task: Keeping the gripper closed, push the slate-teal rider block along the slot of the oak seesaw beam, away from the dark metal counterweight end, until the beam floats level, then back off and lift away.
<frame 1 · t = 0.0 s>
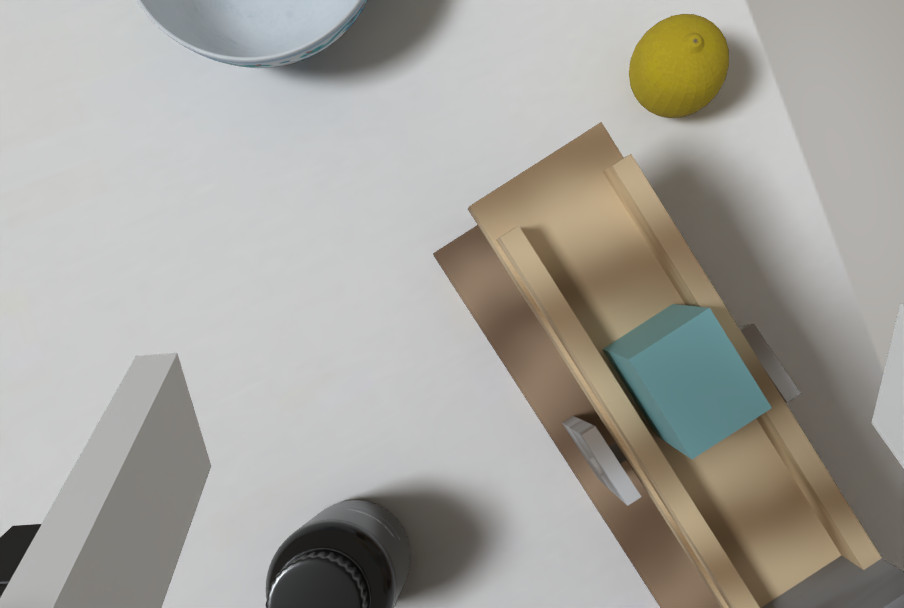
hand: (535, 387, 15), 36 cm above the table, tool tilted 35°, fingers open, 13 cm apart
supplement bottle: (356, 552, 51), on the table
rider: (664, 370, 39), point 12 cm above the table, tilted 8°, touching beam
lemon: (662, 92, 52), on the table
beam: (708, 426, 38), point 13 cm above the table, hinge at -8.0°, touching rider
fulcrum: (645, 405, 51), on the table
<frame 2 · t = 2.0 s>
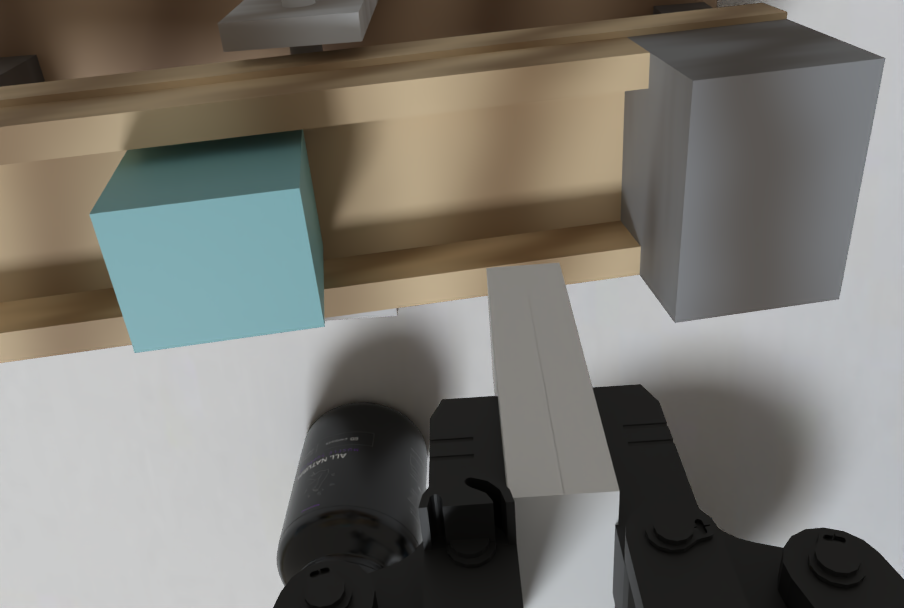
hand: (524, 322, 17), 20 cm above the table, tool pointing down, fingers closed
supplement bottle: (365, 444, 45), on the table
rider: (231, 198, 25), point 12 cm above the table, tilted 8°, touching beam
beam: (325, 208, 24), point 13 cm above the table, hinge at -8.0°, touching rider
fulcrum: (351, 85, 35), on the table
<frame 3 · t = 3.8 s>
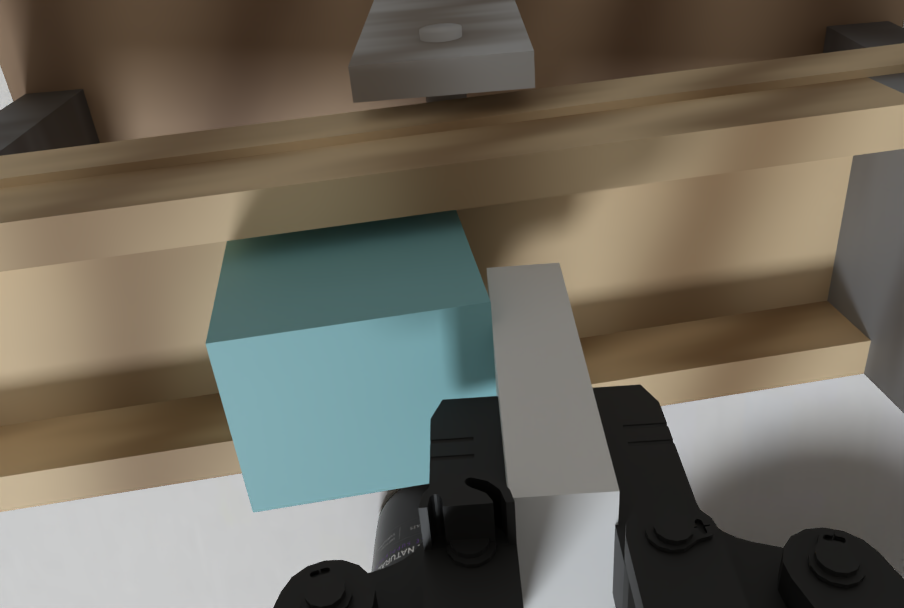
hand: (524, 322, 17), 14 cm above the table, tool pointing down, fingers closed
supplement bottle: (446, 519, 40), on the table
rider: (354, 285, 20), point 12 cm above the table, tilted 8°, touching beam, gripper
beam: (484, 303, 18), point 13 cm above the table, hinge at -8.0°, touching rider
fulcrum: (454, 120, 30), on the table
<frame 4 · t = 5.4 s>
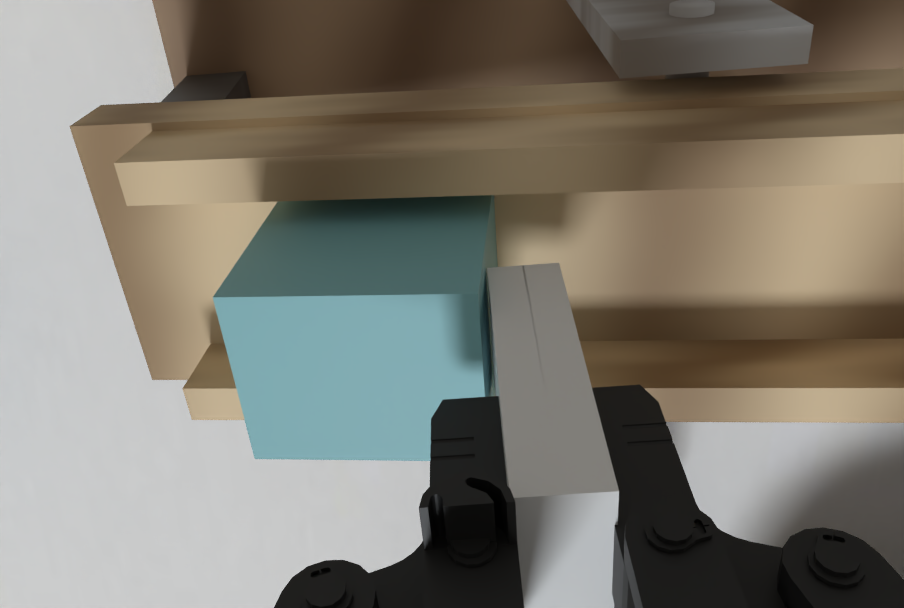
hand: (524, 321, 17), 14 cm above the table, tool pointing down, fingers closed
rider: (396, 262, 20), point 10 cm above the table, tilted 6°, touching beam, gripper
beam: (701, 288, 18), point 13 cm above the table, hinge at 6.4°, touching rider
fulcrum: (613, 105, 29), on the table
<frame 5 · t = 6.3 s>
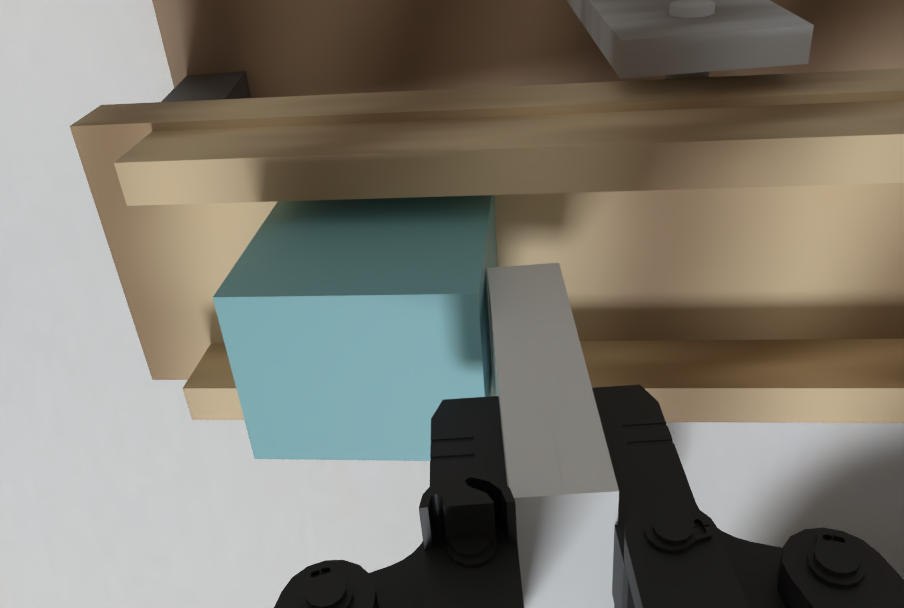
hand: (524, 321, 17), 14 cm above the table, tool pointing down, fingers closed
rider: (396, 262, 20), point 10 cm above the table, tilted 6°, touching beam, gripper
beam: (701, 288, 18), point 13 cm above the table, hinge at 6.5°, touching rider
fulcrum: (614, 106, 29), on the table
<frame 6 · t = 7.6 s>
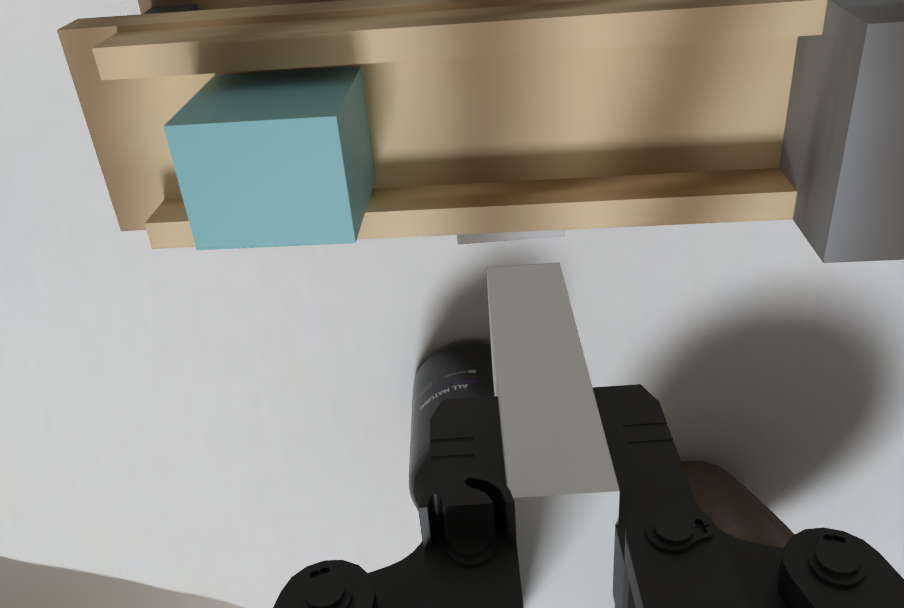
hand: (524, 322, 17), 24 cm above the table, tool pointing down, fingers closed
supplement bottle: (469, 382, 48), on the table
rider: (297, 128, 28), point 11 cm above the table, touching beam
plant pot: (678, 501, 54), on the table
beam: (502, 131, 26), point 13 cm above the table, hinge at 4.0°, touching rider
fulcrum: (486, 33, 37), on the table
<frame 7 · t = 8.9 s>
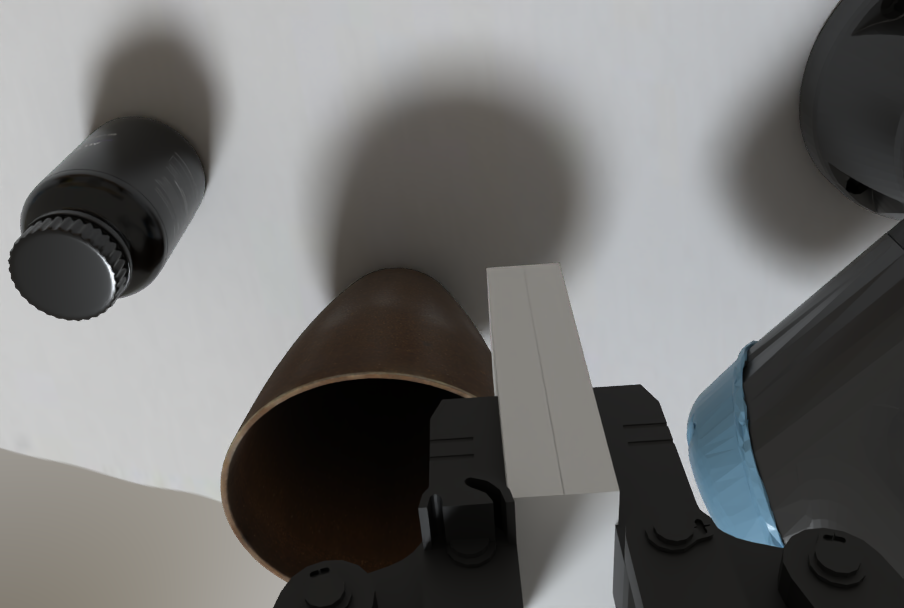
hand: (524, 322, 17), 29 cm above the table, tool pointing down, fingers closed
supplement bottle: (147, 170, 46), on the table
plant pot: (396, 317, 52), on the table
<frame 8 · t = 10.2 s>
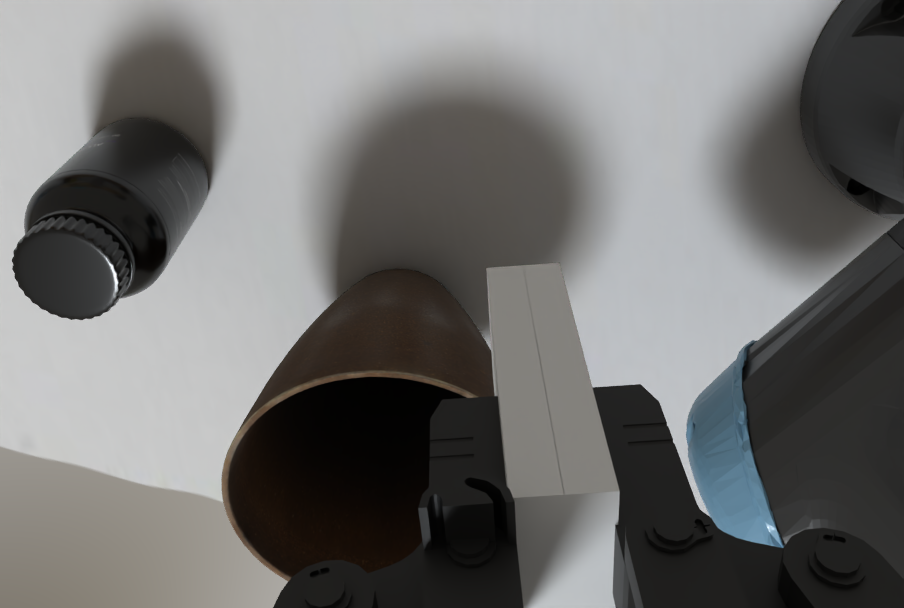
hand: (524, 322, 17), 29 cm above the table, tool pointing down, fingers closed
supplement bottle: (151, 171, 47), on the table
plant pot: (398, 318, 52), on the table
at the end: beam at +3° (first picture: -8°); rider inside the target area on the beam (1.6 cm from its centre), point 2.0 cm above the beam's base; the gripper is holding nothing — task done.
